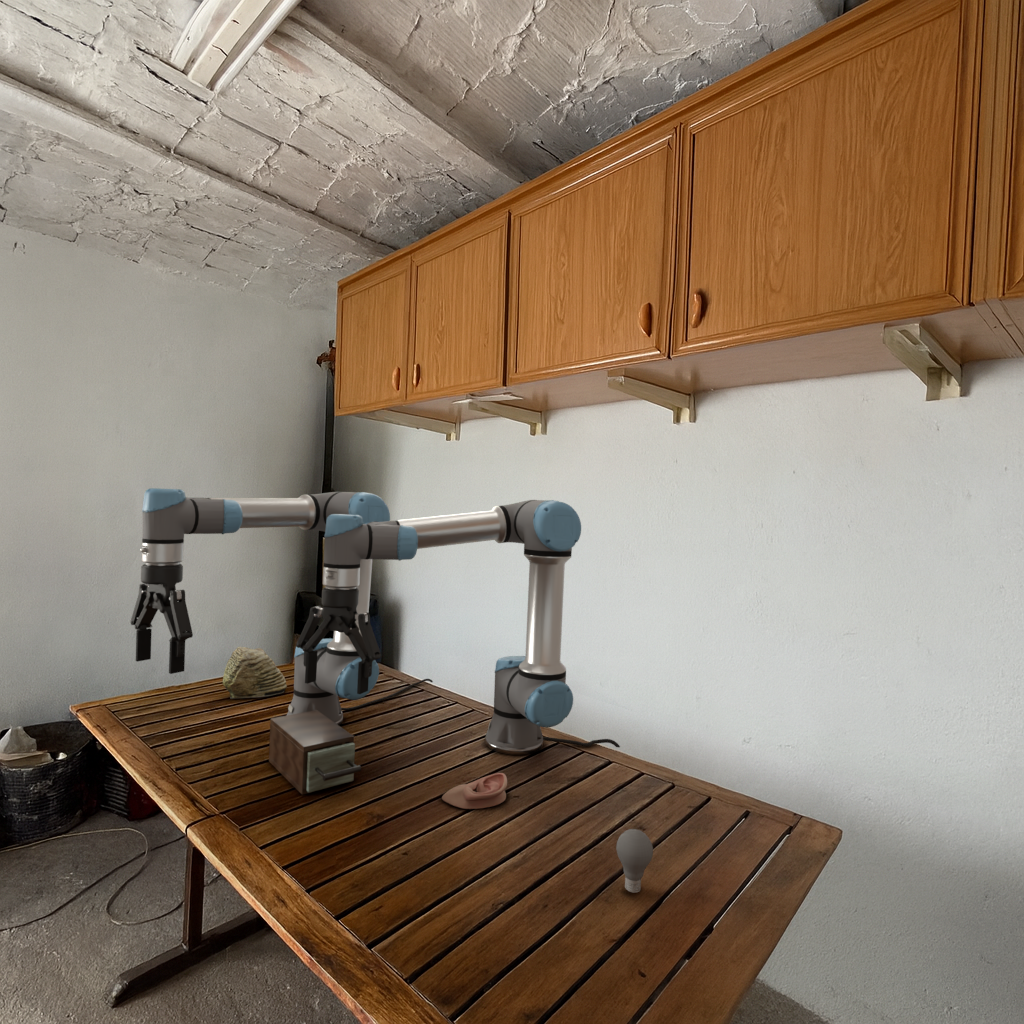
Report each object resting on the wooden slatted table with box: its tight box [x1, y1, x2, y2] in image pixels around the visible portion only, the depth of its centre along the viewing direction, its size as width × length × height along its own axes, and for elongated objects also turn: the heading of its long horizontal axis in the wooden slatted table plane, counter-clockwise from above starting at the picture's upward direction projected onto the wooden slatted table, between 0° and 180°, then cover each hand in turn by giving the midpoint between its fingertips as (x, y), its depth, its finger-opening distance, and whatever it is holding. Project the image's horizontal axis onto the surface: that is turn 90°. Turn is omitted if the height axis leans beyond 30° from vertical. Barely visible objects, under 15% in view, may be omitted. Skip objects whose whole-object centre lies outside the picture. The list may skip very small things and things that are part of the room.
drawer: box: [306, 742, 362, 794], centre depth 142 cm, size 25×10×8 cm, turn 40°
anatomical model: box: [441, 772, 508, 810], centre depth 136 cm, size 13×4×12 cm
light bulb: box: [615, 828, 654, 894], centre depth 106 cm, size 6×6×10 cm
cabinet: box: [268, 710, 355, 796], centre depth 146 cm, size 21×11×10 cm, turn 40°
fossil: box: [222, 646, 288, 699], centre depth 198 cm, size 9×18×15 cm, turn 132°
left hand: (159, 666), depth 131 cm, fingers open, 13 cm apart
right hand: (336, 687), depth 134 cm, fingers open, 13 cm apart
